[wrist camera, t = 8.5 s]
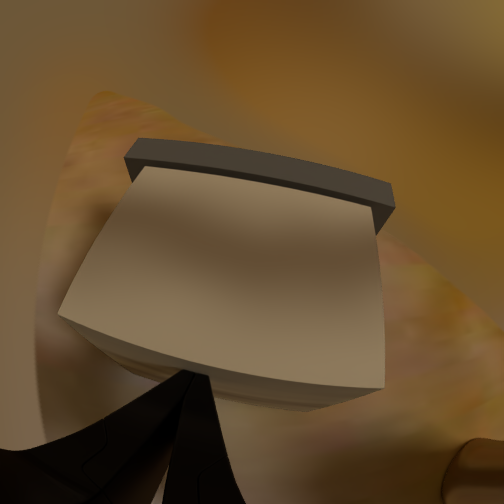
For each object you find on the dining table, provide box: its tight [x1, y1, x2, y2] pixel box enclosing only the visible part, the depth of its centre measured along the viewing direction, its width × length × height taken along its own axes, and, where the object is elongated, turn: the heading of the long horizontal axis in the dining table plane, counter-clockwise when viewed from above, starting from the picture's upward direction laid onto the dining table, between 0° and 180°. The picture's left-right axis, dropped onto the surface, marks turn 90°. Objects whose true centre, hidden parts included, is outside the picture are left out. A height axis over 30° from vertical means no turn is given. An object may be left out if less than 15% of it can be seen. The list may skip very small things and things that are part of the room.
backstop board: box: [124, 138, 395, 235], centre depth 14 cm, size 2×12×8 cm, turn 79°
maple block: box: [57, 166, 385, 412], centre depth 12 cm, size 7×10×8 cm
